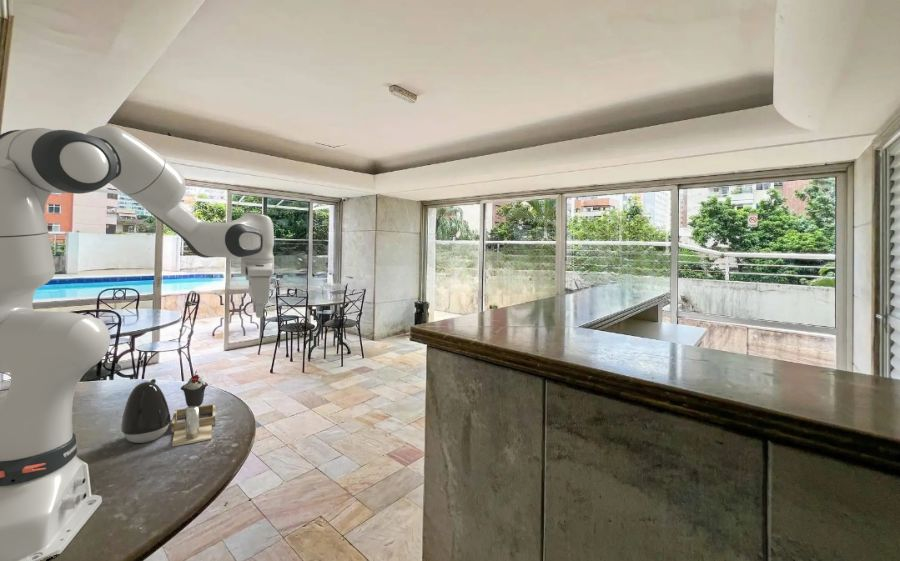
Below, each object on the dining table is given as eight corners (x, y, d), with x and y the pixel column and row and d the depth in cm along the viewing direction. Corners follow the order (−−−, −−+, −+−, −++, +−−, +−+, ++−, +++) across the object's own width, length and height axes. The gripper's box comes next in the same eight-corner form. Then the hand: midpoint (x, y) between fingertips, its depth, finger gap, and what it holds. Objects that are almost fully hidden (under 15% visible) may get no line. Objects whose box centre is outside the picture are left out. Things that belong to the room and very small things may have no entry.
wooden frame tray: (215, 438, 103) (214, 407, 102) (167, 447, 98) (167, 415, 97) (215, 411, 119) (214, 385, 118) (174, 418, 114) (174, 390, 113)
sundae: (196, 425, 110) (194, 374, 109) (175, 422, 111) (174, 372, 110) (213, 415, 116) (213, 367, 115) (194, 413, 118) (193, 365, 116)
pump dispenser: (177, 427, 109) (175, 374, 107) (162, 445, 99) (160, 387, 97) (133, 431, 105) (131, 377, 104) (113, 450, 96) (111, 390, 94)
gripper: (243, 266, 122) (244, 309, 123) (248, 270, 104) (248, 321, 105) (265, 266, 125) (265, 308, 126) (273, 270, 107) (273, 319, 108)
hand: (258, 314), depth 115 cm, fingers open, 8 cm apart
